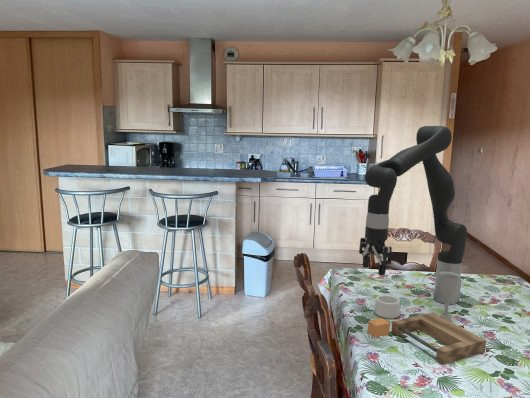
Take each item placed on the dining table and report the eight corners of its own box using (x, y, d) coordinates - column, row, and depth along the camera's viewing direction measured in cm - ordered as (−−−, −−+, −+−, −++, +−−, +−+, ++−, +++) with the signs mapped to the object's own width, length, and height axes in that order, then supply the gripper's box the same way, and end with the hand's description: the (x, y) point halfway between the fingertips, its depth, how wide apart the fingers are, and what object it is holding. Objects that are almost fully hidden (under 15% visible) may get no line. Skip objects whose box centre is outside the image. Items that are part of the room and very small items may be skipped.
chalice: (455, 318, 157) (459, 273, 154) (456, 326, 150) (462, 279, 147) (434, 315, 159) (438, 270, 156) (435, 323, 153) (439, 276, 150)
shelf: (431, 322, 153) (432, 312, 152) (484, 351, 133) (486, 340, 133) (391, 332, 145) (392, 321, 144) (442, 364, 125) (443, 352, 125)
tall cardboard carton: (381, 329, 147) (381, 317, 146) (388, 335, 143) (389, 322, 142) (367, 333, 144) (368, 320, 143) (375, 338, 141) (376, 325, 140)
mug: (395, 321, 153) (396, 306, 152) (370, 314, 159) (371, 299, 158) (405, 310, 163) (406, 296, 162) (381, 304, 168) (382, 290, 167)
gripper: (400, 229, 137) (395, 276, 140) (372, 220, 150) (369, 263, 152) (381, 231, 134) (377, 279, 137) (355, 221, 147) (352, 265, 149)
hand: (373, 271), depth 145 cm, fingers open, 8 cm apart
